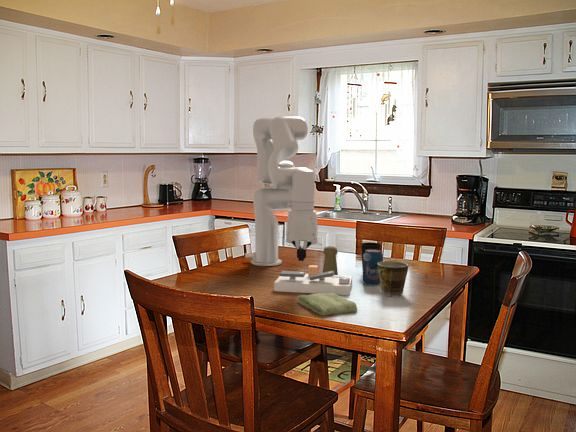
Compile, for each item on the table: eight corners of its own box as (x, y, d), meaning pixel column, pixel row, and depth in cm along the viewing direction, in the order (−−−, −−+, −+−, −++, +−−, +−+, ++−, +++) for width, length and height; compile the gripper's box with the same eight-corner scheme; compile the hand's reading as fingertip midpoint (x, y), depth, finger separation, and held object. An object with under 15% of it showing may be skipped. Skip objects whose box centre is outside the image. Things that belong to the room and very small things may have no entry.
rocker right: (310, 280, 183) (309, 277, 183) (311, 277, 187) (310, 274, 187) (333, 275, 182) (332, 272, 182) (334, 273, 186) (333, 270, 186)
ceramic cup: (386, 288, 189) (387, 259, 188) (412, 293, 183) (413, 263, 181) (366, 295, 179) (367, 265, 178) (393, 301, 173) (394, 270, 171)
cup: (357, 276, 207) (357, 244, 205) (364, 272, 213) (364, 241, 212) (376, 278, 203) (377, 246, 202) (383, 274, 210) (384, 243, 208)
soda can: (367, 286, 191) (368, 252, 190) (359, 281, 198) (360, 249, 196) (385, 285, 193) (386, 251, 192) (377, 280, 200) (378, 248, 198)
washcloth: (332, 298, 177) (332, 288, 177) (360, 313, 161) (360, 302, 160) (294, 302, 172) (294, 292, 171) (320, 318, 156) (320, 307, 155)
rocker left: (280, 276, 185) (279, 273, 185) (282, 273, 189) (282, 270, 189) (303, 277, 183) (303, 274, 183) (305, 274, 187) (305, 271, 187)
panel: (274, 291, 184) (274, 277, 183) (282, 280, 198) (282, 268, 198) (349, 295, 179) (349, 281, 179) (352, 284, 194) (352, 271, 194)
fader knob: (308, 275, 192) (308, 266, 192) (309, 273, 195) (309, 265, 194) (316, 275, 191) (317, 267, 191) (317, 273, 194) (318, 265, 194)
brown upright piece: (337, 277, 204) (337, 248, 203) (321, 276, 206) (321, 247, 204) (338, 273, 210) (339, 245, 209) (323, 273, 211) (323, 244, 210)
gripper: (278, 207, 181) (277, 261, 183) (323, 209, 178) (322, 264, 181) (282, 204, 188) (281, 256, 191) (326, 206, 185) (324, 259, 188)
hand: (301, 260), depth 186 cm, fingers closed
